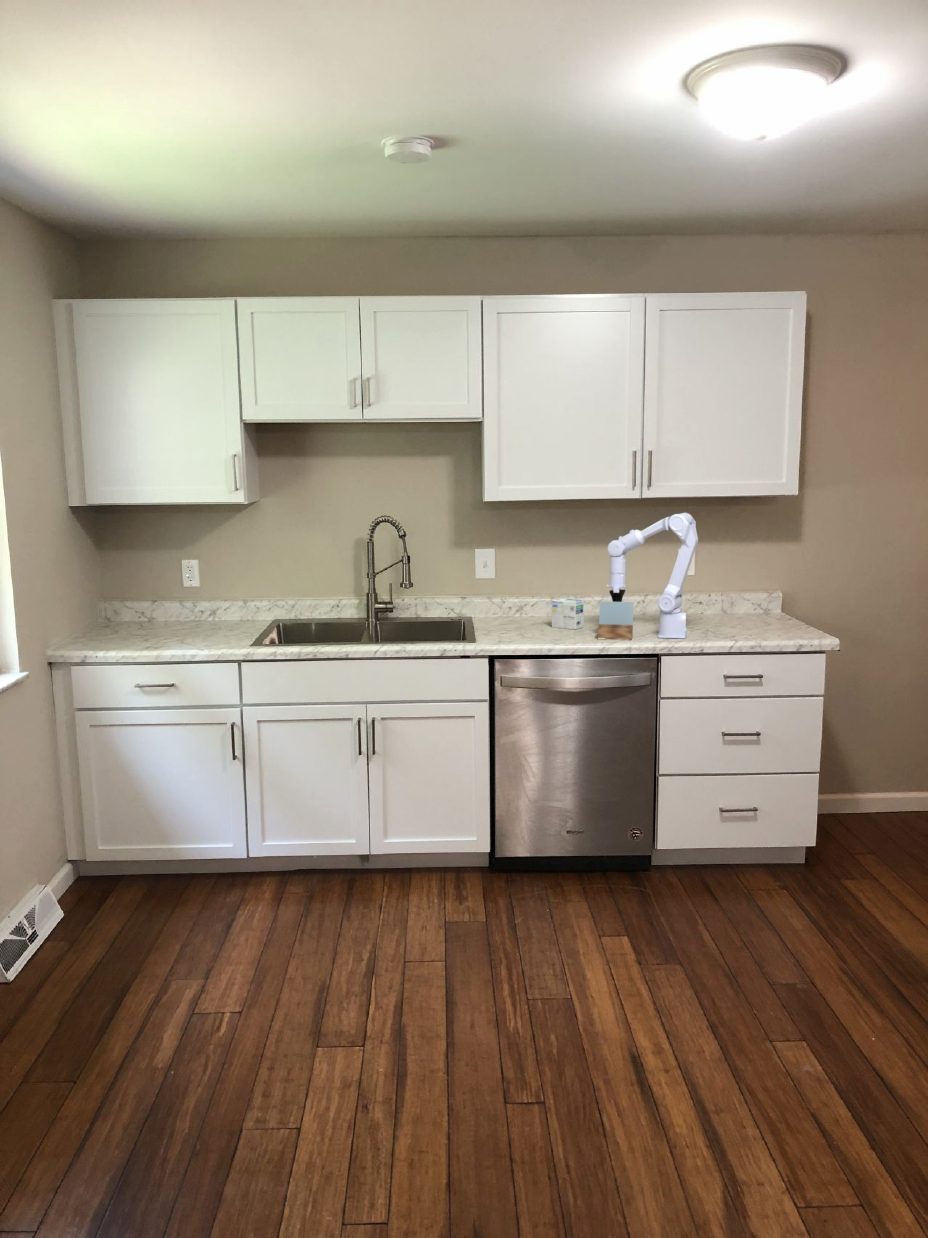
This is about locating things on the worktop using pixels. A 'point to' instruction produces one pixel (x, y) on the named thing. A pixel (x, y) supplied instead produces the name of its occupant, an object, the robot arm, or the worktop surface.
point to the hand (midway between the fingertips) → (617, 609)
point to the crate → (615, 631)
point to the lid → (616, 613)
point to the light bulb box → (567, 613)
